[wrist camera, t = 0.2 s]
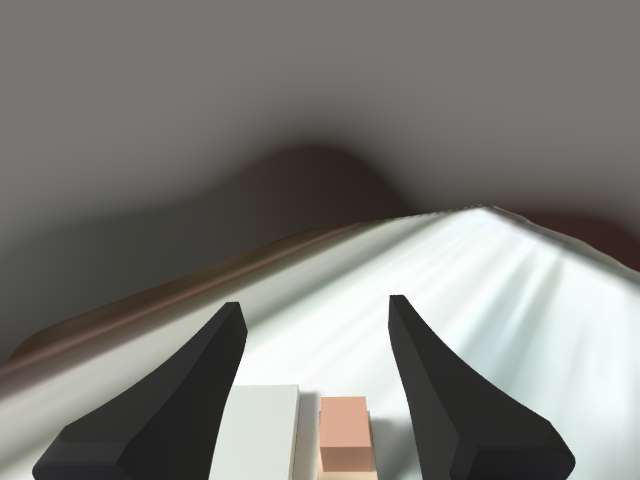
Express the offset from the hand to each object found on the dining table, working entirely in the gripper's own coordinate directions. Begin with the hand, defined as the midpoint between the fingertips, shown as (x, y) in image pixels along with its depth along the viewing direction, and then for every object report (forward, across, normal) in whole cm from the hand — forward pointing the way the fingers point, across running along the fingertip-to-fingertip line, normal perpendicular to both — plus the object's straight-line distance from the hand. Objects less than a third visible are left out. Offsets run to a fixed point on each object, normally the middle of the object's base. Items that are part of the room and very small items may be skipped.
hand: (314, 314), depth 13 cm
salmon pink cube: (+3, -1, +19) cm, 19 cm away
